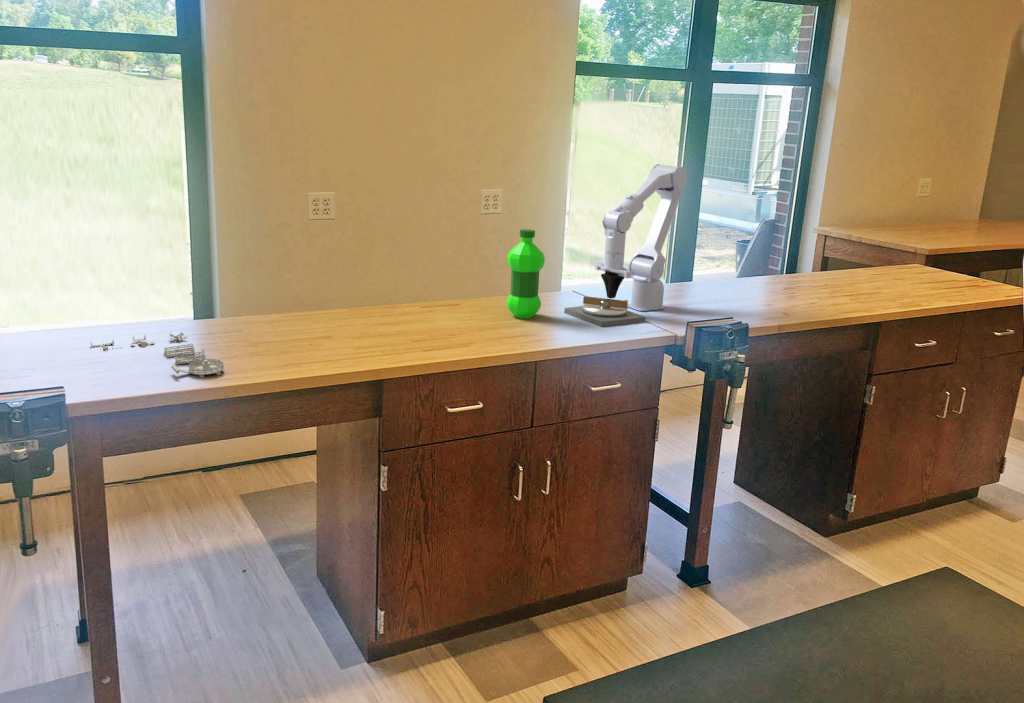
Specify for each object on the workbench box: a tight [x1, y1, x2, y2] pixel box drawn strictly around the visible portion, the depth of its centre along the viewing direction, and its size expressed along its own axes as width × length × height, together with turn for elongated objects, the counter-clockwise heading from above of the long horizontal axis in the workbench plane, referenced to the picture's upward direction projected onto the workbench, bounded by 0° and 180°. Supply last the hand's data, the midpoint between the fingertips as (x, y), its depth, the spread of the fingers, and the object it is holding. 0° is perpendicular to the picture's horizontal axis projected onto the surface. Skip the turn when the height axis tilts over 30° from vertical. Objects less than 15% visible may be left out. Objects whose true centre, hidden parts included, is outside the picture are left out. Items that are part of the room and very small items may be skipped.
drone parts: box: [90, 331, 225, 378], centre depth 199 cm, size 23×35×3 cm, turn 33°
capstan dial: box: [582, 295, 629, 317], centre depth 258 cm, size 13×13×4 cm
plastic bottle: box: [506, 228, 545, 319], centre depth 252 cm, size 10×11×25 cm
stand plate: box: [563, 305, 646, 328], centre depth 259 cm, size 16×18×2 cm
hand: (611, 297), depth 261 cm, fingers closed
